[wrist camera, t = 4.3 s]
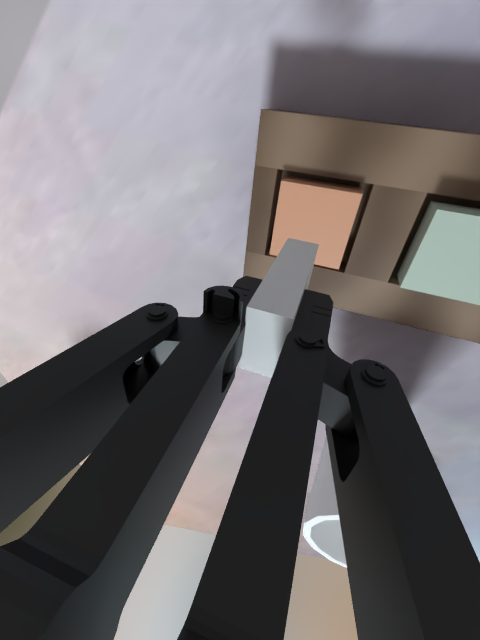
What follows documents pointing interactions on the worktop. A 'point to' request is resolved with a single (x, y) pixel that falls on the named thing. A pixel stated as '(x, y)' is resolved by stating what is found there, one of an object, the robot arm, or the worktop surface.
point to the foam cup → (324, 514)
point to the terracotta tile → (316, 216)
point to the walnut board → (369, 207)
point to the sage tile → (445, 254)
